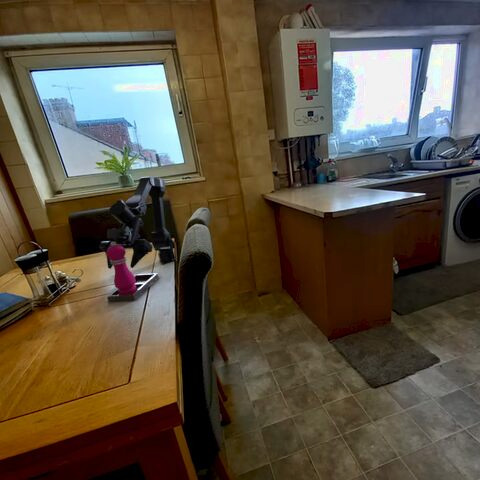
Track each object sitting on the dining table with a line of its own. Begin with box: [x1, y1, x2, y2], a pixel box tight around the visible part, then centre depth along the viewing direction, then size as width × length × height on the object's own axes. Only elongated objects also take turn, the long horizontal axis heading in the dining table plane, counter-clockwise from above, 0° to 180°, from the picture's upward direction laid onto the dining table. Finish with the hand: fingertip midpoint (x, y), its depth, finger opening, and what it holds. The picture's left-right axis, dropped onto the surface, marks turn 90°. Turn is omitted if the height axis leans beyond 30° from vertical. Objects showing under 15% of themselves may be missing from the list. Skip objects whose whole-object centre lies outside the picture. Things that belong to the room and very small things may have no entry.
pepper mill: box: [106, 241, 137, 295], centre depth 101 cm, size 7×7×20 cm
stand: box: [106, 272, 160, 303], centre depth 108 cm, size 10×19×2 cm, turn 175°
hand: (120, 267), depth 100 cm, fingers open, 9 cm apart
